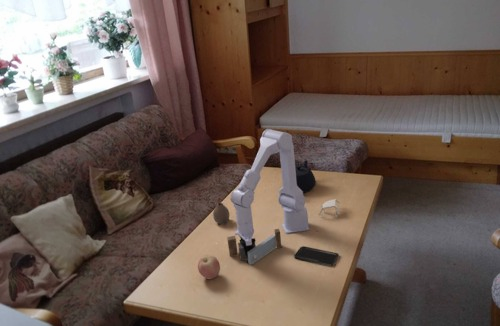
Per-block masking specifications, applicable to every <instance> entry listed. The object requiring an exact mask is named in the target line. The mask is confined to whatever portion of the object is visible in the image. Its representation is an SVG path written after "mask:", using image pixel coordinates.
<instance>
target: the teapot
mask: <svg viewBox="0 0 500 326" xmlns="http://www.w3.org/2000/svg"><path fill="white" fill-rule="evenodd" d="M295 170H296V182H297V186H298V187H299V188H300V189H301V190H302V191H303V194H306V193H309V192H311V191H312V190H313V189H314V188H315V186H316V177H315V174H314V173H313V171H312V169H311V168H310V167H308V160H307V159H306V160H305V161H304V162H303V165H301V164H297V165H296V164H295Z"/></svg>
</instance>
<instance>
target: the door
mask: <svg viewBox="0 0 500 326" xmlns="http://www.w3.org/2000/svg"><path fill="white" fill-rule="evenodd" d="M275 249H277V247H276V240H275V234H274V235H273V234H272V235H271V236H269V237H268V238H266V239H264V240H263V241H262V242H261V243H259V244H257V245H256V247H254V248H253V249H251V250H250V251H248V252H247V253H248V259H247V260H248V261H247V262H248V265H253V264H254V263H256V262H257V261H259V260H261V259H262V258H263V257H265V256H267V255H268V254H269V253H271V252H272V251H273V250H275Z"/></svg>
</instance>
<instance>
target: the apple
mask: <svg viewBox="0 0 500 326" xmlns="http://www.w3.org/2000/svg"><path fill="white" fill-rule="evenodd" d="M197 269H198V273H199V274H200V276H202V277H203V278H205V279H207V280H213V279H215V278H216V277H217V276H218V275H219V274H220V271H221V264H220V261H219V260H218V258H217V257H216V256H213V255H209V254H208V255H204V256H202V257H200V258H199V260H198V263H197Z"/></svg>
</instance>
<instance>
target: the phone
mask: <svg viewBox="0 0 500 326" xmlns="http://www.w3.org/2000/svg"><path fill="white" fill-rule="evenodd" d="M293 256H294V259H295V260H298V261H299V260H300V261H303V262H308V263H312V264H317V265H321V266H326V267H330V268H333V267H334V266H335V264H336V263H337V261H338V259H339V257H340V254H339V253H337V252H333V251H328V250H322V249H318V248H314V247H310V246H304V245H302V246H299V248H298V250H297V251H296V253H295V254H294V255H293Z"/></svg>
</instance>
